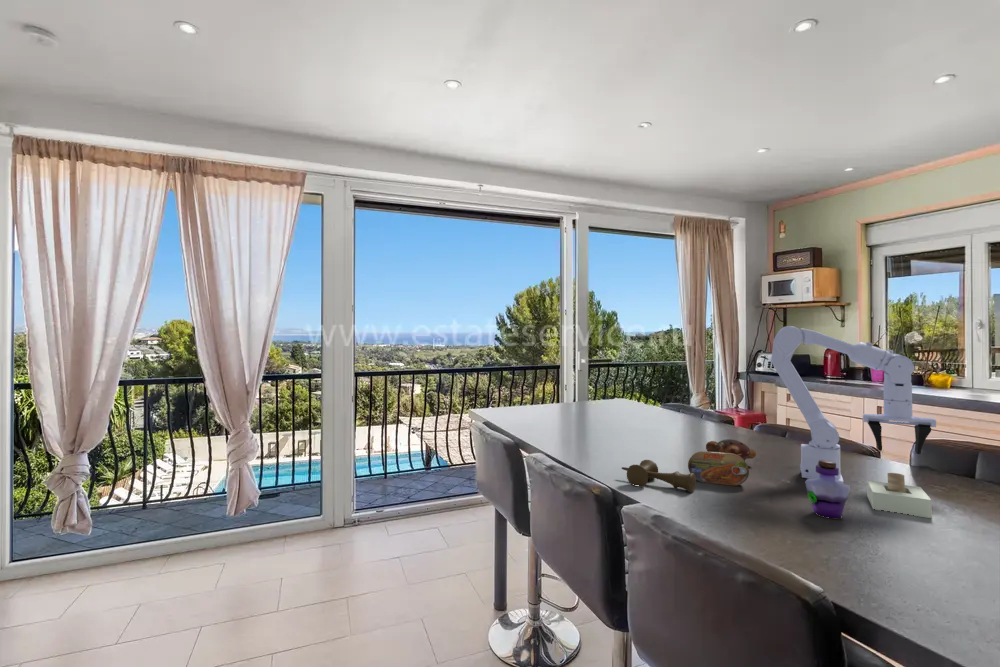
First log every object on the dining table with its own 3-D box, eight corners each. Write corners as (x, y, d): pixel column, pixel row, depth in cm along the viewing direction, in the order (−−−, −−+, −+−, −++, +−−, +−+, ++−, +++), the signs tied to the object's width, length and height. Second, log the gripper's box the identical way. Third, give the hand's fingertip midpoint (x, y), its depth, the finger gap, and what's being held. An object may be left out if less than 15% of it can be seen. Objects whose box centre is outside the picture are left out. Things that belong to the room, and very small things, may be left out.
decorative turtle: (698, 462, 146) (698, 437, 146) (743, 460, 148) (742, 435, 148) (716, 471, 136) (716, 444, 136) (763, 469, 138) (763, 442, 138)
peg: (890, 505, 106) (888, 475, 107) (887, 501, 109) (886, 472, 109) (907, 507, 105) (905, 477, 105) (904, 503, 108) (902, 473, 108)
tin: (688, 480, 128) (687, 450, 128) (688, 477, 131) (688, 448, 131) (749, 488, 121) (748, 456, 121) (748, 484, 124) (748, 453, 124)
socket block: (873, 509, 105) (872, 492, 105) (867, 496, 114) (866, 480, 114) (931, 518, 100) (931, 500, 100) (920, 504, 108) (920, 487, 108)
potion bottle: (796, 510, 105) (795, 458, 105) (820, 505, 108) (819, 454, 108) (836, 525, 97) (835, 468, 97) (860, 518, 100) (860, 463, 101)
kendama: (688, 499, 114) (614, 482, 127) (699, 490, 122) (627, 474, 134) (689, 475, 115) (614, 460, 127) (700, 468, 122) (628, 454, 135)
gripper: (864, 400, 121) (865, 451, 121) (939, 403, 113) (940, 458, 113) (861, 396, 127) (862, 445, 127) (931, 400, 119) (932, 452, 119)
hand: (898, 451), depth 121 cm, fingers open, 7 cm apart
